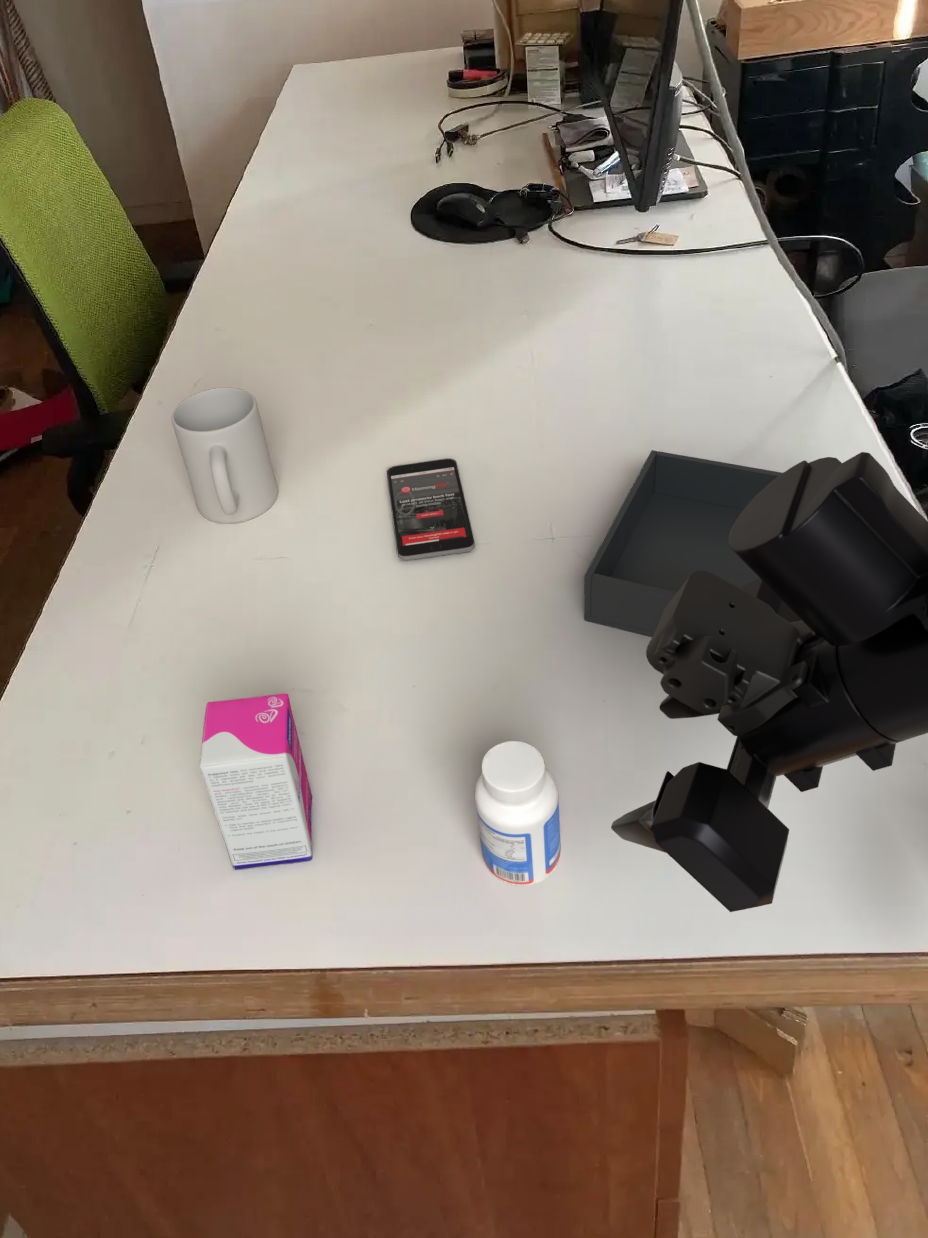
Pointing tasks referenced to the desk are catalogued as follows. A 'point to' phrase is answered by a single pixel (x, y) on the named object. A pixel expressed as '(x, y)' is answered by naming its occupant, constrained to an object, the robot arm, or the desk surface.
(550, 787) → the pill bottle
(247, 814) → the supplement box
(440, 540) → the smartphone
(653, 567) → the dark grey storage tray
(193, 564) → the desk surface
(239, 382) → the desk surface
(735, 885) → the robot arm
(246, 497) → the mug
